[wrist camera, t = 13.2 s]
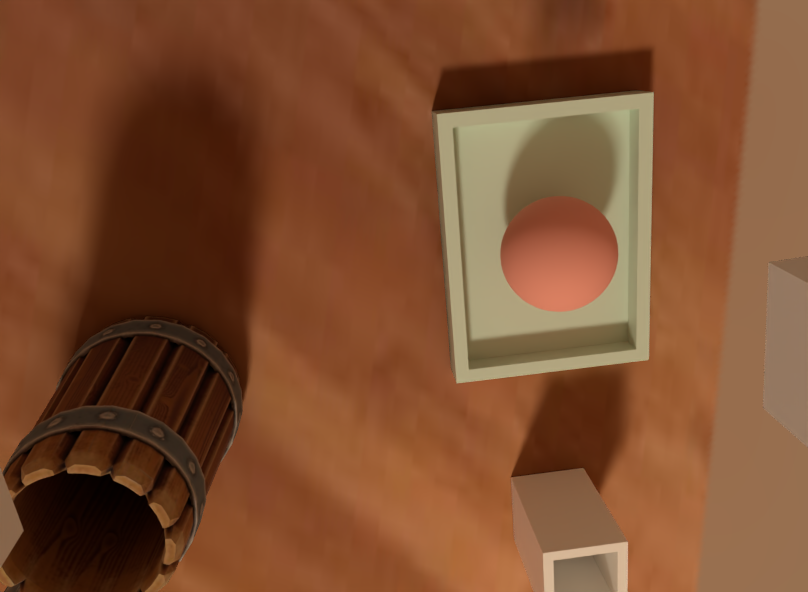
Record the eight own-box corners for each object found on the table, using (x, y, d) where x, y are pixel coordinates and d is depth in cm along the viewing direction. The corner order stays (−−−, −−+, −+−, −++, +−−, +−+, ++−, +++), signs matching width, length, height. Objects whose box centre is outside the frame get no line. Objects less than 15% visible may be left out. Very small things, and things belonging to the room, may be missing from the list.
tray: (431, 110, 42) (436, 114, 40) (637, 90, 43) (653, 92, 41) (451, 368, 47) (456, 383, 45) (635, 346, 48) (648, 359, 46)
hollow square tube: (511, 477, 50) (542, 553, 43) (583, 467, 50) (627, 541, 43) (514, 539, 52) (545, 623, 44) (584, 529, 52) (627, 611, 44)
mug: (132, 277, 44) (36, 387, 29) (279, 376, 46) (256, 520, 32) (-9, 466, 46) (-158, 649, 32) (138, 548, 49) (60, 750, 35)
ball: (487, 192, 43) (511, 216, 37) (595, 180, 43) (637, 203, 37) (493, 296, 45) (516, 335, 39) (596, 284, 45) (635, 321, 39)
